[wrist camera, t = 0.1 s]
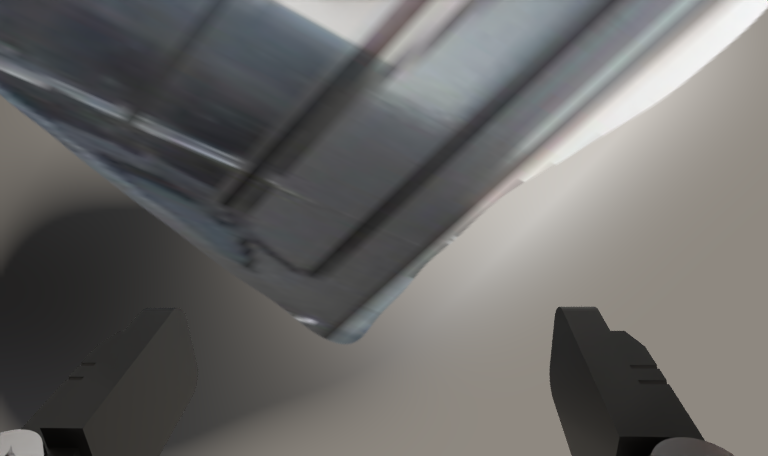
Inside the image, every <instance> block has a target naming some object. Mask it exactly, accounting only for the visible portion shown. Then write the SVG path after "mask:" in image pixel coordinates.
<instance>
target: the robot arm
mask: <svg viewBox="0 0 768 456" xmlns="http://www.w3.org/2000/svg"><path fill="white" fill-rule="evenodd" d="M197 377H198V368H197V362H196V358H195V353H194V349H193V345H192V341H191V336H190V331H189V327H188V323H187V319H186V315H185V313H184V311H183V310H182V309H179V308H146V309H144V310H142V311H141V312H140V313H139V314H138V315H137V317H136V318H135V319H134V320H133V321H132V322H131V324H130V325H129V326H128V327H127V328H126V329H125V330H124V331H119V332H117V333H116V334H114V335H113V336H111V337H110V338H108V339H106V340H105V341H103V342H102V343H101V344H99V345H97V346H96V347H95V348H94V349H93V351H92V352H91V353H90V354H89V355H88V356H87V357H86V358H85V359H84V360H83V362H82V365H81V366H78V367H77V368H76V370H75V371H73V373H72V374H71V375H70V376H69V380H65V382H63V384H62V385H61V386H60V387H59V388H58V389H57V390H56V391H55V392H54V393H53V395H52V396H51V397H50V398H49V399H48V400H47V401H46V402H45V403H44V404H43V406H42V407H41V408H40V409H39V410H38V411H37V412H36V413H35V414H34V415H33V417H32V418H31V419H30V420H29V421H28V422H27V423H26V424H25V425H24V427H23V428H22V429H21V430H11V431H6V432H2V433H0V456H159V455H160V453H161V452H162V450H163V448H164V446H165V444H166V443H167V441H168V439H169V437H170V435H171V434H172V432H173V430H174V428H175V426H176V425H177V423H178V421H179V419H180V417H181V416H182V414H183V412H184V410H185V409H186V407H187V405H188V403H189V402H190V400H191V398H192V396H193V394H194V392H195V388H196V385H197ZM550 385H551V392H552V397H553V400H554V403H555V406H556V409H557V412H558V415H559V418H560V421H561V424H562V427H563V431H564V433H565V436H566V439H567V443H568V445H569V449H570V452H571V455H572V456H734V455H733V454H732V453H730V452H728V451H726V450H725V449H723V448H721V447H719V446H717V445H715V444H712V443H709V442H707V441H705V440H704V438H703V437H702V435H701V434H700V432H699V431H698V429H697V427H696V426H695V424H694V423H693V421H692V420H691V418H690V416H689V415H688V413H687V412H686V410H685V409H684V407H683V405H682V404H681V402H680V401H679V399H678V398H677V396H676V395H675V393H674V391H673V390H672V388H671V387H670V385H669V384H667V382H666V379H665V377H664V376H663V374H662V372H661V371H660V369H657V365H656V363H655V361H654V360H653V358H652V357H651V355H650V354H649V352H648V351H647V349H646V348H645V346H643V345H642V344H641V343H640V342H638V341H637V340H636V339H634V338H633V337H632V336H630V335H629V334H628V333H626V332H625V331H610V330H609V328H608V326H607V324H606V323H605V321H604V319H603V318H602V316H601V314H600V312H599V310H598V309H597V308H596V307H558V308H557V310H556V313H555V320H554V330H553V340H552V350H551V361H550Z"/></svg>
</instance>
